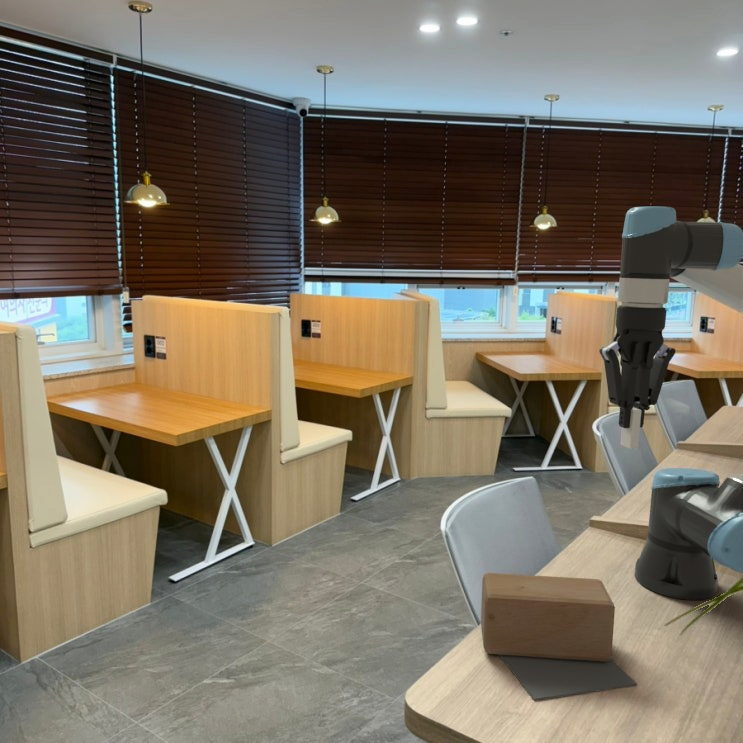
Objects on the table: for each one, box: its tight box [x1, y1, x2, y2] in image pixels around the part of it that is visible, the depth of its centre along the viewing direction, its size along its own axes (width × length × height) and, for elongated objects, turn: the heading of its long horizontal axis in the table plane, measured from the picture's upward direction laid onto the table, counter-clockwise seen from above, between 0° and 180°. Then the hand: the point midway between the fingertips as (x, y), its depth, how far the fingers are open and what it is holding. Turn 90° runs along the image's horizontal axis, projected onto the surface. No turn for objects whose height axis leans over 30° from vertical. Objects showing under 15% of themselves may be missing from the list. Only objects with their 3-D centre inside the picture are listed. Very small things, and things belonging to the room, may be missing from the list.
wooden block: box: [480, 572, 616, 662], centre depth 113 cm, size 10×10×20 cm
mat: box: [498, 654, 638, 701], centre depth 107 cm, size 17×12×1 cm
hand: (629, 446), depth 115 cm, fingers closed
